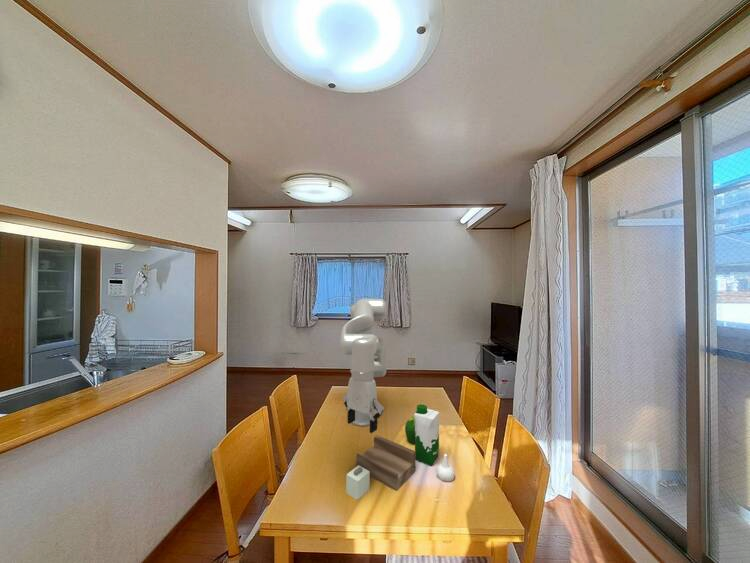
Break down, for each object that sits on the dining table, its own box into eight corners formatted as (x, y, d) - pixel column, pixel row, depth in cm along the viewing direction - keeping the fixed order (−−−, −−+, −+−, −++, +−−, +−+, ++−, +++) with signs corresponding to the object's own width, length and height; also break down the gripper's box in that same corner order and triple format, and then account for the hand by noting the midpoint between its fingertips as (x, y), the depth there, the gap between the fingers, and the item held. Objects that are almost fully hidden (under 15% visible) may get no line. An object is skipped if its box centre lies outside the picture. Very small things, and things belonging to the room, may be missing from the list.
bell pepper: (423, 447, 115) (423, 423, 116) (404, 445, 117) (404, 421, 117) (424, 437, 124) (424, 414, 124) (406, 434, 125) (406, 412, 125)
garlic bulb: (435, 471, 101) (433, 450, 101) (452, 470, 101) (450, 449, 101) (438, 484, 95) (436, 460, 95) (456, 482, 94) (454, 459, 95)
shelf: (376, 452, 112) (377, 434, 112) (415, 470, 101) (415, 451, 101) (355, 468, 101) (356, 449, 102) (396, 490, 90) (396, 469, 91)
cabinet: (346, 493, 89) (346, 471, 89) (358, 482, 94) (358, 462, 94) (357, 500, 86) (357, 478, 86) (369, 489, 91) (369, 468, 91)
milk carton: (420, 449, 114) (420, 401, 114) (441, 456, 109) (441, 406, 110) (411, 460, 106) (412, 409, 107) (433, 468, 102) (434, 414, 102)
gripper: (336, 372, 94) (335, 422, 93) (376, 383, 83) (375, 440, 83) (351, 367, 100) (350, 415, 99) (390, 377, 89) (389, 430, 89)
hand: (362, 426), depth 91 cm, fingers open, 9 cm apart
